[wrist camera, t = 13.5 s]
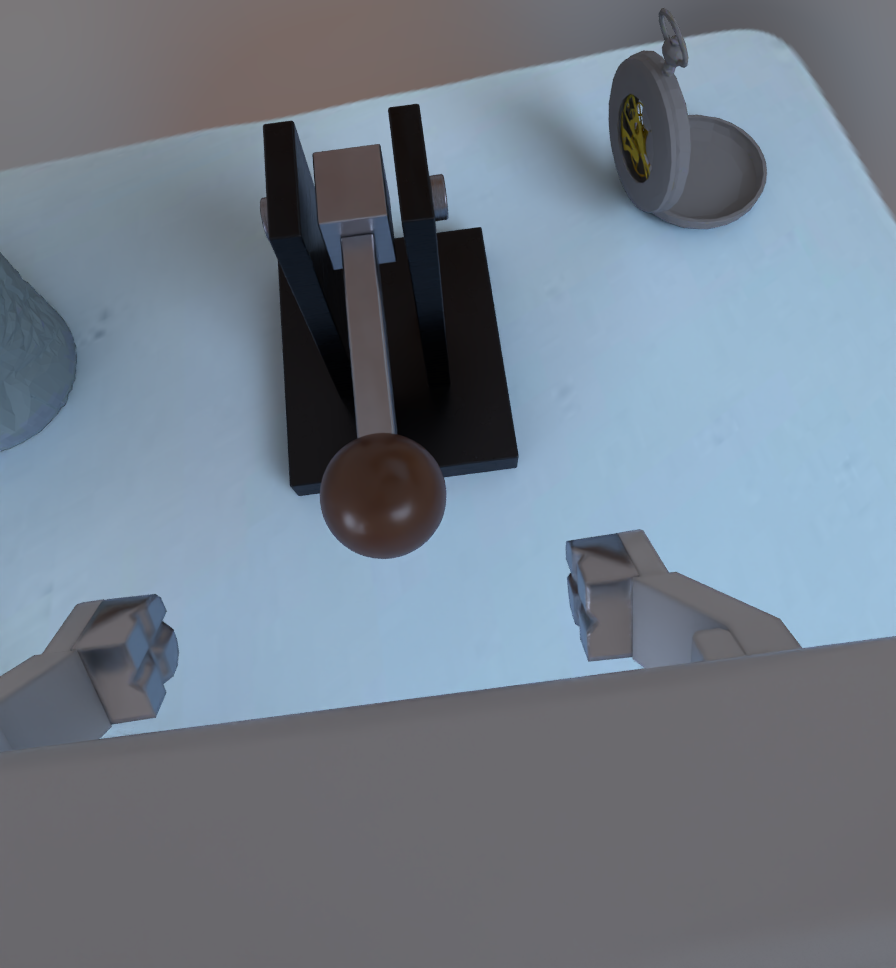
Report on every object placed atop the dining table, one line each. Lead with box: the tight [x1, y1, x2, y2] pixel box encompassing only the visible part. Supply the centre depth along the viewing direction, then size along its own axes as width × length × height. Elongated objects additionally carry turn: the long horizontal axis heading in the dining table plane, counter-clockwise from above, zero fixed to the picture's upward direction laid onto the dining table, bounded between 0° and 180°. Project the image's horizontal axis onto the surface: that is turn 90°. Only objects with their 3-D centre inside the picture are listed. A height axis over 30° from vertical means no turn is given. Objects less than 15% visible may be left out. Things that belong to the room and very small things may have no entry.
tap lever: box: [313, 144, 446, 559], centre depth 22 cm, size 13×4×4 cm, turn 7°
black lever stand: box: [260, 104, 519, 496], centre depth 28 cm, size 12×10×13 cm
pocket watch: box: [609, 8, 767, 229], centre depth 31 cm, size 8×8×10 cm
